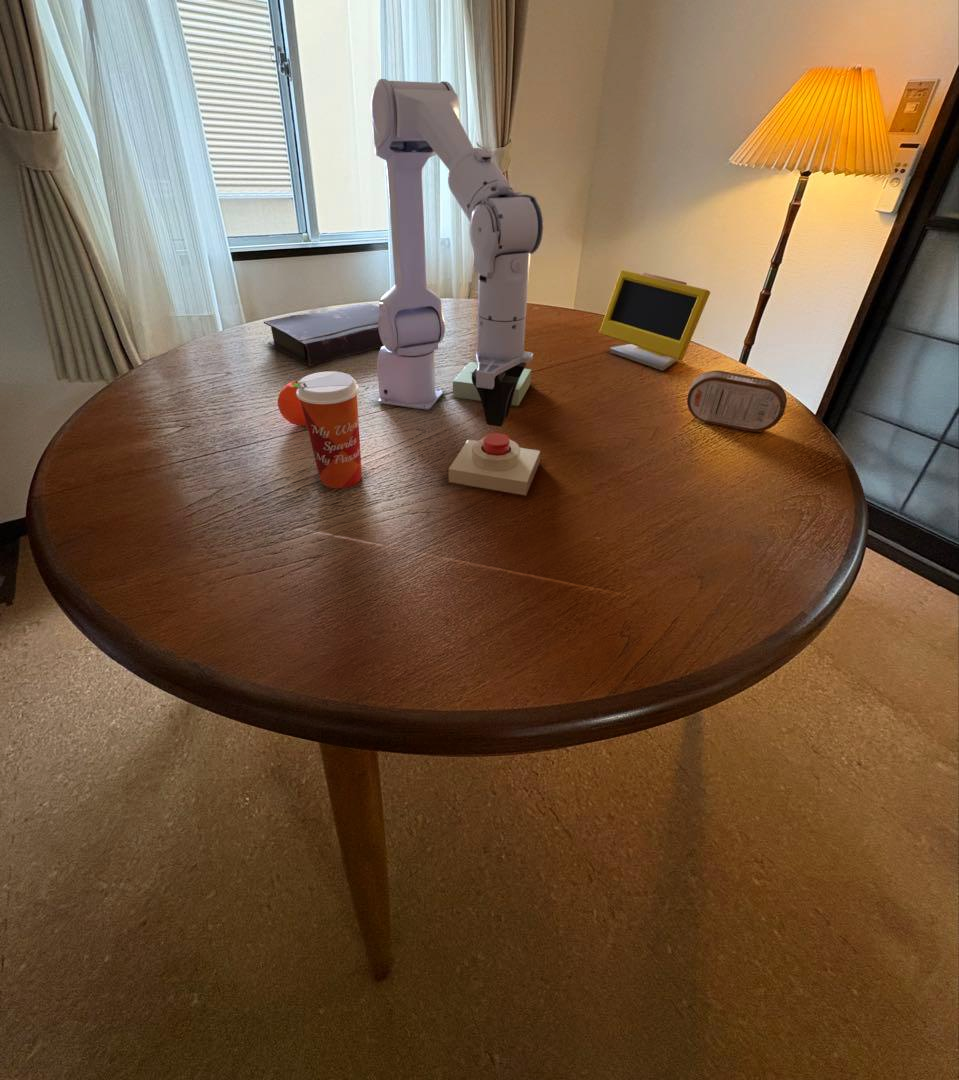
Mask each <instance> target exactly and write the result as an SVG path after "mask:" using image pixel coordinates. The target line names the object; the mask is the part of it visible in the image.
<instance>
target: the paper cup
mask: <svg viewBox="0 0 959 1080" xmlns="http://www.w3.org/2000/svg"><path fill="white" fill-rule="evenodd" d="M298 381H299V383H298V389H297V392H296V395H297V397H298V398H299V399H300V401H301V405H302V409H303V413H304V417H305V421H306V429H307V433H308V437H309V441H310V445H311V448H312V452H313V457H314V461H315V464H316V468H317V472H318V475H319V479H320V482H321V483H322V485H323V486H325V487H326V488H330V489H346V488H350V487H353V486H355V485H356V484H358V483H359V482H360V481H361V478H362V455H361V454H362V453H361V440H360V439H361V438H360V422H359V407H358V405H359V404H358V394H359V392H360V389H361V387H360V385H359V384H358V383H357V381H356V379H354V378H353V377H352V376H351V375H350V374H348V373H346V372H341V371H333V370H330V371H329V370H328V371H319V372H314V373H310V374H307V375H306V376H303V377H302V378H301V379H300V380H298Z"/></svg>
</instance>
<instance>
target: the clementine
mask: <svg viewBox="0 0 959 1080" xmlns="http://www.w3.org/2000/svg"><path fill="white" fill-rule="evenodd" d="M299 381H300V380H293V381H290V382H288V383H287V384H286V385H284V386H283V387H282V388H281V390H280V391H279V392H278V398H277V407H278V410H279V413H280V414H281V415H282V417H283V418H284V419H285V420H286V421H287V422H288V423H290V424H292V425H295V426H298V427H305V426H306V427H307V425H306V421H305V417H304V413H303V409H302V405H301V401H300V399H299V398H298V397H297V395H296V392H297V389H298V383H299Z"/></svg>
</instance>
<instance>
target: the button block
mask: <svg viewBox="0 0 959 1080" xmlns="http://www.w3.org/2000/svg"><path fill="white" fill-rule="evenodd" d="M483 440H484V437H483V438H481V439H479V440H473V439H467V440H466V441H465V443H464V445H463V446H462V448H461V449H460V451H459V452H458V454H457V455H456V457H455V458H454V460H453V461H452V463H451V464H450V465H449V467H448V483H451V484H457V485H463V486H468V487H469V486H470V487H475V488H481V489H486V490H491V491H497V492H504V493H509V494H515V495H520V496H527V494H528V492H529V489H530V487H531V484H532V482H533V480H534V477H535V475H536V472H537V471H538V467H539V465H540V459H541V450H538V449H530V448H524V447H520V445H519V444H518V443H517V442H516V441H514V440H512V439H510V445H509V452H508V453H507V454H505V455H499V456H495V455H489V454H487V453H485V452H484V451H483Z"/></svg>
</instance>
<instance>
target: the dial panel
mask: <svg viewBox="0 0 959 1080" xmlns="http://www.w3.org/2000/svg"><path fill="white" fill-rule="evenodd" d="M475 369H478V367H477V361H476V362H474V361H469V362H468V363H467V364H466V365H465V366H464V367H463V369H461V371H460V372H458V374H457V376H456V377H455V378H454V379H453V380H452V397H453V398H457V399H465V400H472V401H479V402H481V398H480V396H479V393H478V391H477V389H476V387H475V385H474V384H473V382H472V373H473V372H474V370H475ZM531 379H532V369H531V368H524V370H523V372H522V374H521V376H520V378H519V380H518V383H517V386H516V389H515V392H514V396H513V400H512V404H511V406H514V407H518V406H519V405H520V404H521V402H522V401H523V398H524V396H525V395H526V393H527V391H528V390H529V387H530V386H531Z"/></svg>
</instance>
